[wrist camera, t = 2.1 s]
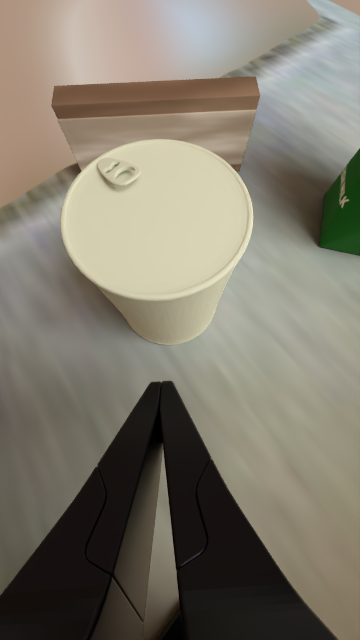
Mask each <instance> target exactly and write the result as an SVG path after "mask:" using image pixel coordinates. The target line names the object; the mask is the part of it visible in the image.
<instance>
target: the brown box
mask: <svg viewBox="0 0 360 640" xmlns="http://www.w3.org/2000/svg"><path fill="white" fill-rule="evenodd" d="M259 98H260V93H259V89H258V84H257V80H256V77H236V78H216V79H194V80H173V81H151V82H131V83H109V84H88V85H67V86H54V92H53V99H52V108H53V110H54V112H55V114H56V116H57V118H58V123H59V125H60V127H61V129H62V131H63V133H64V135H65V137H66V139H67V141H68V143H69V146H70V148H71V150H72V152H73V154H74V156H75V158H76V160H77V162H78V165H79V167H80V169H81V171H82V170H83V169H84V168H85V167H86V166H88V165H89V164H90V163H91V162H92V161H94V160H95V159H96V158H98V157H99V156H101V155H103V154H104V153H106V152H108V151H110V150H112V149H114V148H117V147H119V146H122V145H125V144H128V143H132V142H137V141H142V140H151V139H170V140H177V141H183V142H187V143H191V144H194V145H197V146H200V147H202V148H205V149H207V150H209V151H211V152H212V153H214V154H216V155H217V156H219V157H220V158H222V159H223V160H224V161H226V162H227V163H228V164H229V165H230V166H231V167H232V168H233V169H234V170H235V171H239V170H240V167H241V164H242V162H243V158H244V154H245V151H246V147H247V144H248V140H249V137H250V133H251V129H252V126H253V122H254V119H255V115H256V111H257V110H256V109H257V105H258V101H259Z"/></svg>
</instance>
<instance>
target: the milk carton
mask: <svg viewBox="0 0 360 640" xmlns="http://www.w3.org/2000/svg"><path fill="white" fill-rule="evenodd" d="M320 247H323V248H327V249H332V250H337V251H342V252H346V253H351V254H356V255H360V149H359V150H358V151H357V153H356V154H355V155H354V157H353V158H352V159H351V160H350V162H349V163H348V164H347V166H346V167H345V168H344V170H343V171H342V172H341V174H340V175H339V176H338V178H337V179H336V181H335V182H334V183H333V185H332V186H331V187H330V189H329V190H328V191H327V193H326V194H325V196H324V207H323V217H322V227H321V238H320Z"/></svg>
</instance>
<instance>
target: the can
mask: <svg viewBox="0 0 360 640" xmlns="http://www.w3.org/2000/svg"><path fill="white" fill-rule="evenodd" d="M60 227H61V235H62V240H63V243H64V246H65V248H66V251H67V253H68V255H69V257H70V259H71V260H72V262H73V263H74V264H75V266H76V267H77V268H78V270H79V271H80V272H81V273H82V274H83V275H84V276H85V277H86V278H87V279H89V280H90V281H91V282H93V283H94V284H95V285H96V286H97V287H98V288H99V289H100V290H101V292H102V293H103V294H104V295H105V296H106V297H107V298H108V299H109V300H110V301H111V302H112V303H113V304H114V306H115V307H116V308H117V309H118V310H119V311H120V312H121V313H122V315H123V316H124V317H125V318H126V320H127V322H128V324H129V325H130V326H131V328H132V329H133V330H134V331H135V332H136V333H137V334H138V335H140V336H141V337H143V338H144V339H146V340H148V341H151V342H153V343H157V344H162V345H175V344H181V343H184V342H187V341H189V340H191V339H193V338H195V337H197V336H198V335H199V334H201V333H202V332H203V331H204V330H205V329H206V328H207V326H208V325H209V324H210V322H211V320H212V319H213V316H214V314H215V311H216V306H217V303H218V301H219V299H220V296H221V294H222V292H223V290H224V288H225V286H226V284H227V282H228V280H229V278H230V276H231V274H232V272H233V270H234V268H235V266H236V264H237V263H238V261H239V260H240V258H241V257H242V255H243V253H244V251H245V249H246V247H247V245H248V243H249V240H250V236H251V233H252V227H253V208H252V203H251V198H250V196H249V193H248V190H247V188H246V186H245V184H244V182H243V181H242V179H241V178H240V176H239V175H238V174H237V172H236V171H235V170H234V169H233V168H232V167H231V166H230V165H229V164H228V163H227V162H226V161H224V160H223V159H222V158H220V157H219V156H217V155H216V154H214V153H212V152H211V151H209V150H207V149H205V148H202V147H200V146H197V145H194V144H191V143H187V142H183V141H177V140H170V139H151V140H142V141H137V142H132V143H128V144H125V145H122V146H119V147H117V148H114V149H112V150H110V151H108V152H106V153H104V154H103V155H101V156H99V157H98V158H96V159H95V160H94V161H92V162H91V163H90V164H89V165H88V166H86V167H85V168H84V169H83V170H82V171H81V173H80V174H79V175H78V176H77V177H76V179H75V180H74V181H73V183H72V184H71V186H70V188H69V190H68V192H67V194H66V196H65V199H64V202H63V205H62V209H61V218H60Z"/></svg>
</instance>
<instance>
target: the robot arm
mask: <svg viewBox="0 0 360 640" xmlns="http://www.w3.org/2000/svg"><path fill="white" fill-rule="evenodd" d="M163 449H164V459H165V468H166V478H167V487H168V497H169V506H170V516H171V525H172V535H173V544H174V554H175V563H176V571H177V583H178V592H179V602H180V609H179V610H178V611H177V613H176V614H175V615H174V617H173V618H172V620H171V621H170V622H169V624H168V625H167V626H166V628H165V629H164V631H163V632H162V633H161V635H160V636H159V638H158V639H157V640H338V639H337V637H336V636H335V635H334V634H333V633H332V632H331V631H330V630H329V629H328V627H327V626H326V625H325V624H324V623H323V622H322V621H321V620H320V619H319V617H318V616H317V615H316V614H315V613H314V612H313V611H312V610H311V609H310V608H309V606H308V605H307V604H306V603H305V602H304V601H303V599H302V598H301V597H300V596H299V594H298V593H297V592H296V590H295V589H294V588H293V586H292V585H291V584H290V582H289V581H288V580H287V578H286V577H285V575H284V574H283V573H282V571H281V570H280V568H279V567H278V565H277V564H276V562H275V561H274V559H273V558H272V556H271V555H270V553H269V552H268V550H267V549H266V547H265V546H264V544H263V543H262V541H261V539H260V538H259V536H258V535H257V533H256V532H255V530H254V529H253V527H252V526H251V524H250V523H249V521H248V520H247V518H246V517H245V515H244V514H243V512H242V511H241V509H240V507H239V506H238V504H237V503H236V501H235V499H234V498H233V496H232V494H231V493H230V491H229V490H228V488H227V486H226V484H225V482H224V480H223V479H222V477H221V475H220V473H219V471H218V469H217V467H216V465H215V464H214V462H213V460H212V459H211V456H210V454H209V452H208V450H207V448H206V446H205V444H204V442H203V440H202V438H201V436H200V434H199V432H198V430H197V428H196V426H195V424H194V422H193V421H192V419H191V417H190V415H189V413H188V411H187V409H186V407H185V405H184V403H183V401H182V399H181V397H180V395H179V393H178V391H177V389H176V387H175V385H174V383H173V382H172V381H163V382H162V383H161V382H160V381H159V382H151V383H150V384H149V385H148V387H147V389H146V390H145V392H144V393H143V395H142V396H141V398H140V399H139V401H138V403H137V404H136V406H135V407H134V409H133V410H132V412H131V413H130V415H129V416H128V418H127V420H126V421H125V423H124V424H123V426H122V427H121V429H120V430H119V432H118V433H117V435H116V437H115V438H114V440H113V441H112V443H111V444H110V446H109V447H108V449H107V451H106V452H105V454H104V455H103V457H102V458H101V460H100V461H99V463H98V467H95V469H94V470H93V472H92V474H91V475H90V477H89V478H88V480H87V481H86V483H85V484H84V486H83V487H82V489H81V490H80V492H79V493H78V495H77V496H76V497H75V499H74V500H73V502H72V503H71V504H70V506H69V507H68V508H67V510H66V511H65V512H64V514H63V515H62V516H61V518H60V519H59V520H58V522H57V523H56V524H55V526H54V527H53V528H52V530H51V531H50V532H49V533H48V535H47V536H46V537H45V539H44V540H43V541H42V543H41V544H40V545H39V546H38V548H37V549H36V550H35V552H34V553H33V554H32V556H31V557H30V558H29V559H28V561H27V562H26V563H25V565H24V566H23V567H22V569H21V570H20V571H19V572H18V574H17V575H16V576H15V578H14V579H13V580H12V581H11V583H10V584H9V585H8V587H7V588H6V589H5V590H4V592H3V593H2V594H1V595H0V640H142V633H143V621H144V614H145V605H146V596H147V587H148V578H149V569H150V560H151V551H152V542H153V534H154V525H155V516H156V507H157V498H158V489H159V480H160V471H161V462H162V453H163Z"/></svg>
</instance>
